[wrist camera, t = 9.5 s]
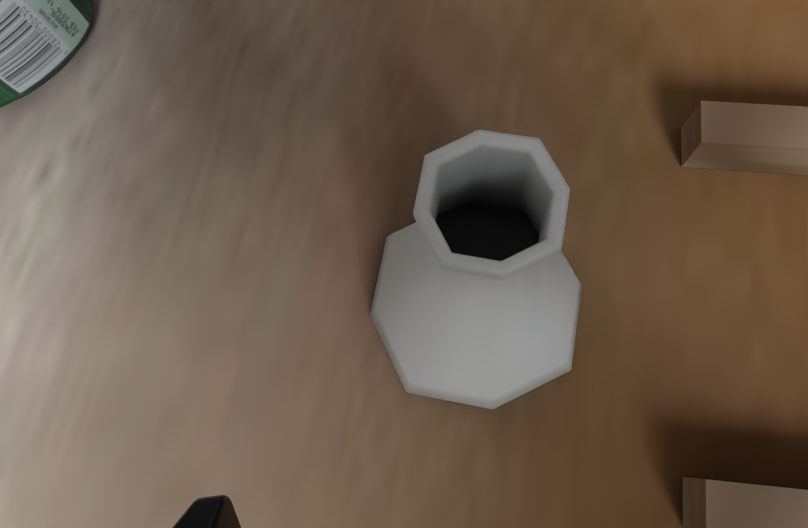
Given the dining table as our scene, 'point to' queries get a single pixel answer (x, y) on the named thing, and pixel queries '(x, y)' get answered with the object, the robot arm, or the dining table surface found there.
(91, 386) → the dining table surface
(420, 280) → the flask
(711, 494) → the guide channel
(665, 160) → the dining table surface
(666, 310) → the dining table surface
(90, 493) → the dining table surface
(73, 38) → the coffee jar
